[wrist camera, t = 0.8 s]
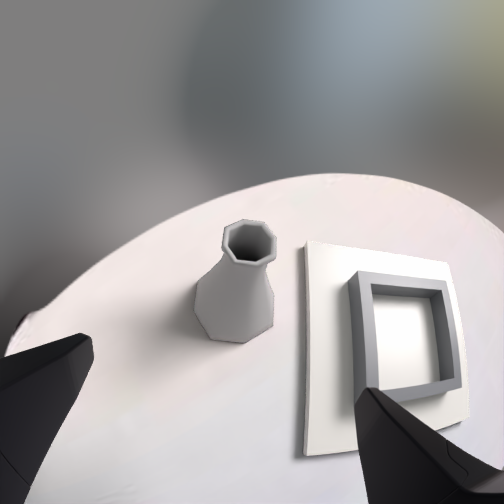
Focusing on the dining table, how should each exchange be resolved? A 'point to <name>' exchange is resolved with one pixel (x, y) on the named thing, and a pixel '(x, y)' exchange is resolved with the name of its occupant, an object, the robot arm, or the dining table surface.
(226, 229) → the flask
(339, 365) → the collar board
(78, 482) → the dining table surface
